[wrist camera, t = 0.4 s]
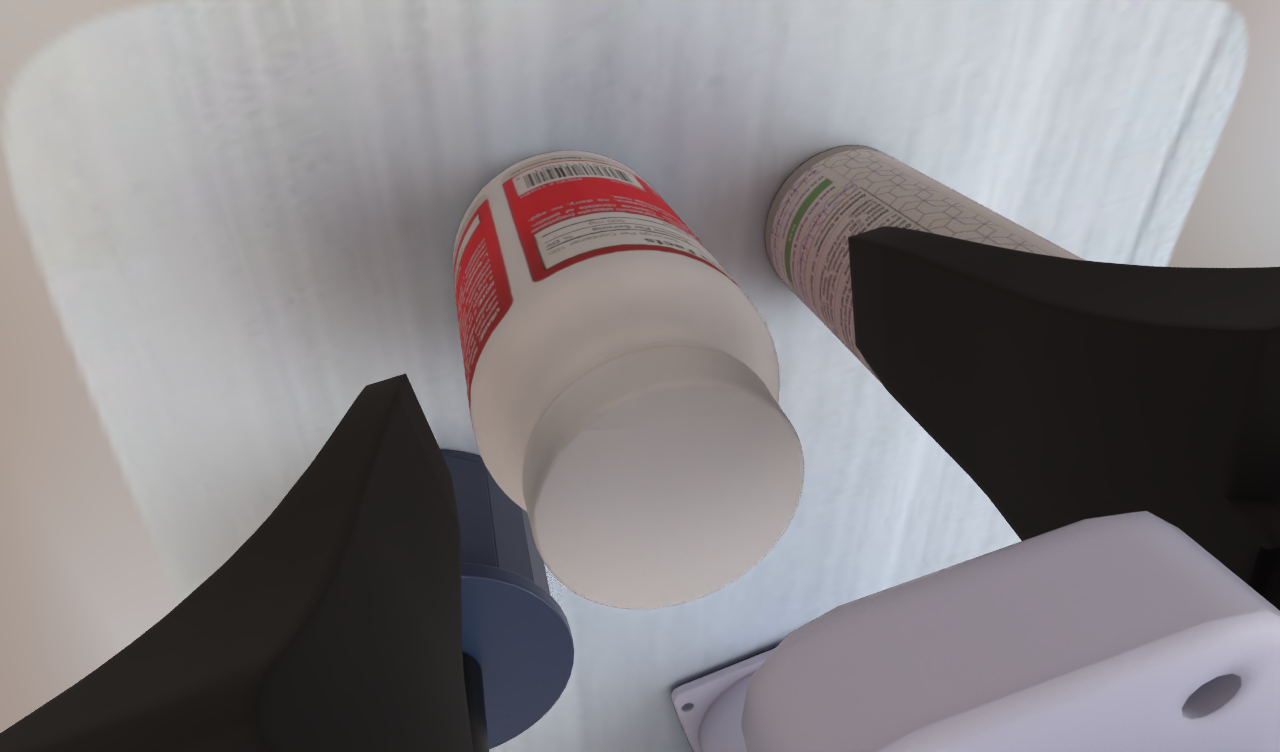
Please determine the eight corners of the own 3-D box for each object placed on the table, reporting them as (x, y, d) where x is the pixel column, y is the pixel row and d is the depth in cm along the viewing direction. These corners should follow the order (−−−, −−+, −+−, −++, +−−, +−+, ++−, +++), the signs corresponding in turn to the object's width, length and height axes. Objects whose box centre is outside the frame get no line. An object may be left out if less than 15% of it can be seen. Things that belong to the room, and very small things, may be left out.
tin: (537, 585, 28) (561, 715, 24) (348, 615, 27) (335, 760, 22) (527, 437, 25) (552, 555, 20) (311, 464, 24) (287, 597, 19)
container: (938, 182, 24) (1518, 493, 11) (854, 314, 26) (1276, 710, 13) (818, 117, 22) (1358, 406, 9) (735, 264, 24) (1100, 675, 11)
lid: (571, 704, 24) (599, 845, 21) (324, 753, 23) (307, 915, 19) (564, 526, 21) (596, 660, 17) (269, 569, 19) (236, 727, 16)
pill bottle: (546, 389, 24) (629, 690, 15) (401, 244, 21) (393, 515, 12) (710, 265, 23) (905, 501, 14) (587, 93, 20) (735, 257, 11)
